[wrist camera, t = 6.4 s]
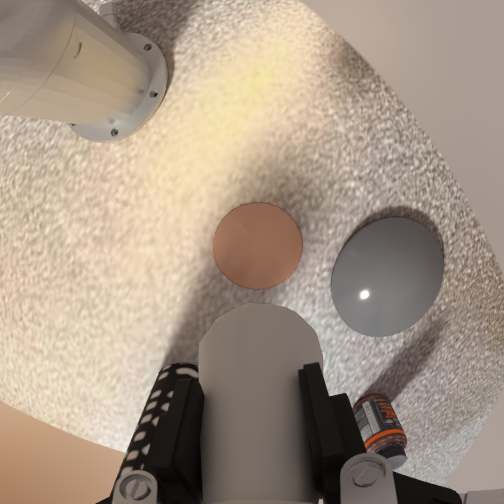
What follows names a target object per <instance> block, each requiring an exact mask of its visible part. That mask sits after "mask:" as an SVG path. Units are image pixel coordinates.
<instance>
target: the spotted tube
mask: <svg viewBox="0 0 504 504" xmlns="http://www.w3.org/2000/svg"><path fill="white" fill-rule="evenodd" d="M188 378H193V379H194V380H195V382H199V368H198V366H195V365H192V364H187V363H176V364H171V365H168V366H166V367H165V368H163V369H162V370H161V371H160V372H159V374H158V376H157V379H156V381H155V383H154V386H153V388H152V391H151V393H150V395H149V398H148V400H147V402H146V405H145V407H144V410H143V412H142V415H141V417H140V419H139V422H138V424H137V427H136V429H135V432H134V434H133V437H132V439H131V442H130V444H129V447H128V449H127V452H126V454H125V457H124V460H123V462H122V465H121V467H120V470H119V473H118V475H117V478H116V481H115V483H114V486H113V489H112V491H111V494H110V496H112V495H114V490H115V486H116V483H117V481H118V480H119V478H120V477H121V476H122V475H124V474H125V473H128V472H130V471H135V470H141V471H142V469H143V466H144V463H145V459H146V456H147V453H148V450H149V447H150V443H151V440H152V437H153V434H154V431H155V428H156V425H157V422H158V419H159V416H160V415H161V414H164V413H167V410H168V407H169V404H170V400H171V397H172V394H173V391H174V388H175V384H176V381H177V380H178V379H188ZM110 496H109V497H110Z"/></svg>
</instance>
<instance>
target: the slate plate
mask: <svg viewBox="0 0 504 504" xmlns="http://www.w3.org/2000/svg"><path fill="white" fill-rule="evenodd" d="M443 272H444V262H443V255H442V252H441V248H440V246H439V243H438V242H437V240H436V238H435V237H434V235H433V234H432V233H431V232H430V231H429V230H428V229H427V228H426V227H424V226H423V225H421V224H420V223H417V222H415V221H413V220H410V219H407V218H403V217H386V218H381V219H378V220H375V221H373V222H371V223H369V224H367V225H365V226H364V227H362V228H361V229H359V230H358V231H357V232H356V233H355V234H354V235H352V236H351V238H350V239H349V240H348V241H347V242H346V243H345V245H344V246H343V248H342V249H341V251H340V253H339V255H338V257H337V259H336V262H335V264H334V267H333V271H332V277H331V293H332V299H333V302H334V305H335V307H336V309H337V311H338V313H339V315H340V317H341V318H342V320H343V321H344V322H345V323H346V324H347V325H348V326H349V327H350V328H351V329H353V330H354V331H356V332H358V333H360V334H363V335H367V336H372V337H385V336H390V335H394V334H397V333H400V332H402V331H404V330H406V329H408V328H409V327H411V326H412V325H414V324H415V323H416V322H418V321H419V320H420V319H421V318H422V317H423V316H424V315H425V314H426V313H427V312H428V310H429V309H430V307H431V306H432V305H433V303H434V301H435V299H436V297H437V295H438V293H439V290H440V287H441V284H442V279H443Z"/></svg>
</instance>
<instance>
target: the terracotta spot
mask: <svg viewBox="0 0 504 504" xmlns="http://www.w3.org/2000/svg"><path fill="white" fill-rule="evenodd" d="M213 251H214V256H215V260H216V262H217V265H218V266H219V268H220V270H221V271H222V272H223V274H224V275H225V276H226V277H227V278H228V279H230V280H231V281H232V282H234V283H236V284H238V285H240V286H242V287H246V288H251V289H265V288H270V287H273V286H276V285H278V284H280V283H281V282H283V281H284V280H286V279H287V278H288V277H289V276H290V275H291V274H292V273H293V272H294V270H295V269H296V267H297V265H298V263H299V261H300V258H301V254H302V238H301V234H300V231H299V229H298V227H297V225H296V223H295V222H294V220H293V219H292V218H291V217H290V216H289V215H288V214H287V213H286V212H285V211H283V210H282V209H280V208H278V207H276V206H273V205H270V204H266V203H250V204H245V205H242V206H240V207H238V208H236V209H234V210H232V211H231V212H230V213H228V214H227V215H226V216H225V217H224V218H223V220H222V221H221V222H220V224H219V226H218V228H217V230H216V232H215V236H214V241H213Z"/></svg>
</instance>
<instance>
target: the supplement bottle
mask: <svg viewBox="0 0 504 504" xmlns="http://www.w3.org/2000/svg"><path fill="white" fill-rule="evenodd" d="M352 410H353V412H354V415H355V418H356V421H357V424H358V427H359V430H360V433H361V436H362V438H363V441H364V444H365V447H366V450H367V453H375V454H379V455H381V456H383V457H385V458H386V459H387V460H388V461H389V463H390V465H391V468H392V471H394V470H396V469H398V468H399V467H401V466H402V465H403V464H404V463H405V462H406V460H407V457H406V454H405V451H404V449H405V447H406V445H407V438H406V435H405V433H404V431H403V429H402V426H401V424H400V422H399V420H398V418H397V416H396V414H395V412H394V409H393V408H392V405H391V403H390V402H389V400H388V399H387V397H385V396H384V395H379V394H376V395H370V396H367V397H365V398H363V399H361V400H360V401H358V402H357V403H356V404H355V406H354V407H353V409H352Z"/></svg>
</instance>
